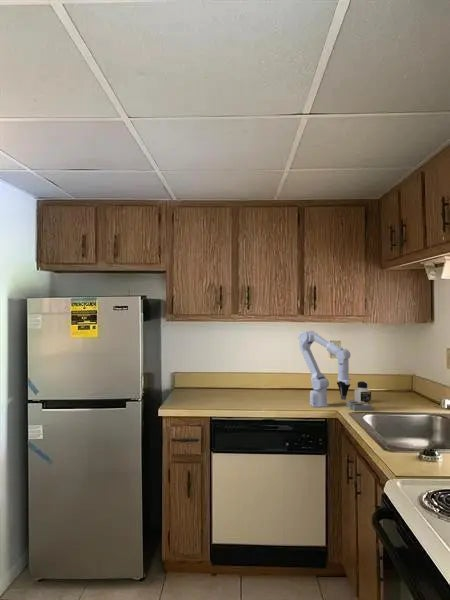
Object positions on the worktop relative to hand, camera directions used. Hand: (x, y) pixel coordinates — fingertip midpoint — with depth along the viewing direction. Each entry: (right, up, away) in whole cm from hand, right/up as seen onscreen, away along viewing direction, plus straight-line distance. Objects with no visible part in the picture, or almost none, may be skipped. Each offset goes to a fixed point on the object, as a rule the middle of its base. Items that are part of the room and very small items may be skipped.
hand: (343, 395), depth 273 cm
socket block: (+9, -8, +3) cm, 12 cm away
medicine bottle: (+16, -8, +19) cm, 27 cm away
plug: (0, -2, 0) cm, 2 cm away
